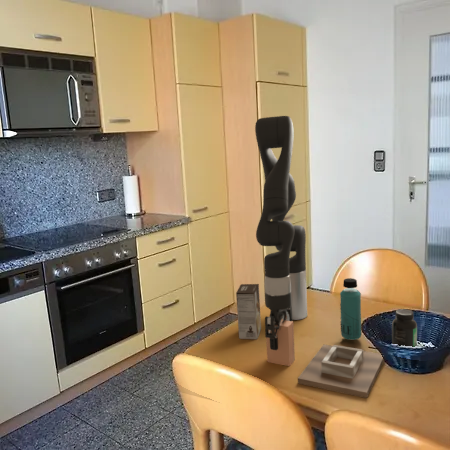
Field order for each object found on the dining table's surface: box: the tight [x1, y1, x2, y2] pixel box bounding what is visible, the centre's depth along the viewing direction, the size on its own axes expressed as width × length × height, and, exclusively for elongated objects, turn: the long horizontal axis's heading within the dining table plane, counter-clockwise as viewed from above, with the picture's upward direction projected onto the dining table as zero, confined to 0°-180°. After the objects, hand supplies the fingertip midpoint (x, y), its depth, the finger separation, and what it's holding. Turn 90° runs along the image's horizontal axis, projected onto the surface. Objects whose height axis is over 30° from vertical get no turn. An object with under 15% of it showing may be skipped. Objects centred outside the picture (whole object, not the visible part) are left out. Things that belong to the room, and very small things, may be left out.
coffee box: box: [235, 283, 262, 340], centre depth 157 cm, size 9×6×16 cm
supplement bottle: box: [391, 308, 418, 347], centre depth 139 cm, size 7×7×12 cm
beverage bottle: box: [339, 277, 363, 341], centre depth 147 cm, size 6×7×20 cm
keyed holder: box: [297, 344, 385, 399], centre depth 130 cm, size 22×18×4 cm
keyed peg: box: [265, 320, 296, 367], centre depth 137 cm, size 4×7×12 cm, turn 61°
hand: (280, 343), depth 137 cm, fingers open, 8 cm apart
